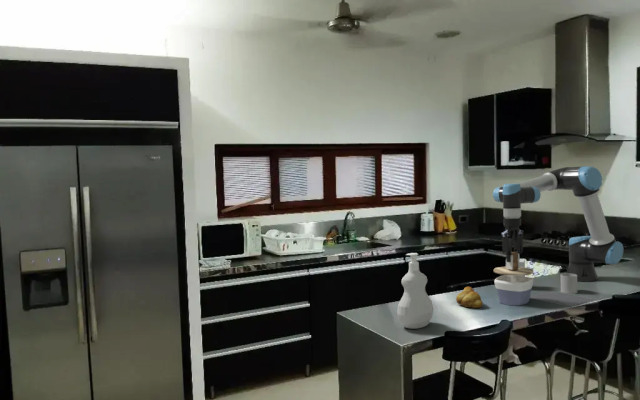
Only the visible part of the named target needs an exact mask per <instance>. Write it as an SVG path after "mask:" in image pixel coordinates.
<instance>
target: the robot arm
mask: <svg viewBox="0 0 640 400" xmlns="http://www.w3.org/2000/svg"><path fill="white" fill-rule="evenodd" d="M602 181H603V176H602V173H601V172H600V170H599V169H598V168H596V167H595V166H588V165H583V166H565V167H560V168H556V169H554V170H551V171H547V172H545V173H543V174H542V175H540V176H537V177H535V178H531V179H527V180H524V181H520V182H516V183H504V184H503V186H497V187H495V188H494V190H493V192H492V198H493V200H494V201H496V202H497V203H502V208H503V219H502V220H503V227H504V231H503V232H500V236H501V247H502V254H503V255H505V256H506V258H505V262H506V261H507V269H513V255H511V253H512V252H517V253H518V268H520V265H519V260H520V259H521V257H520V254H521V255H522V253H523V252H524V232H525V231H524V230H523V229H522V230H521V229H520V226H522V218H521V217H522V204H533V203H537V202H538V201H540V199H541V193H542V192H545V191H550V192H551V191H554V190H555V191H556V190H557V191H558V190H565V191H572V193H573V195H574V197H576V198H578V201H579V204H580V206H581V209H582V213H583V217H584V220H585V222H586V225H587V228H588V229H587V230H588V231H589V234H590V235H581V236H573V237H572V236H571V237H570V238H569V240H568V260H569V263H568V266H567V270H566V272H565V273H570V274H576V275H577V282H595V281H598V273H597V270H596V268H595V265H594V262H595V263H596V262H597V263H602V264H603V263H604V264H606V265H607V264H611V265H614V264H615V265H616V264H618V263H619V262H620V261H621V259H622V258H623V255H624V245H623V243H622V242H620V241H616V238H615V236H614V234H612V233H610V229H609V227H608V223H607V220H606V217H605V214H604V213H605V212H603V207H602V204H601V200H600V197H599V195H598V193H599V191H600V188H601V186H602V184H603V182H602Z"/></svg>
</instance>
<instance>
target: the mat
mask: <svg viewBox="0 0 640 400" xmlns="http://www.w3.org/2000/svg"><path fill="white" fill-rule="evenodd" d="M529 299H531V300H532V299H533V300H538V301H542V302H546V303H551V304H556V305H560V306H565V307H570V308H571V307H574V306H578V305H581V304H584V303H587V302H591V301H593V300H594V299H592V298H587V297H582V296H578V295H577V296H576V295H573V294H571V295H570V294H568V293H562V292H561V293H560V292H556V291H550V290H548V291H543V292H541V293H540V292H539V293H536V294H532V295H530V298H529Z"/></svg>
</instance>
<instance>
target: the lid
mask: <svg viewBox="0 0 640 400" xmlns="http://www.w3.org/2000/svg"><path fill="white" fill-rule="evenodd" d="M511 255H513V269H507V267H506V266H500V267H499V266H498V267H495V268H494V269H493V273H495V274H498V275H502V276H504V275H516V276H518V275H525V276H529V275H532V274H534V269H532V268H530V267H529V268H528V267H526V266H525V267H520V268H518V253H517V252H514V251H512V253H511Z"/></svg>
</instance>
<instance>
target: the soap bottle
mask: <svg viewBox="0 0 640 400" xmlns="http://www.w3.org/2000/svg"><path fill="white" fill-rule="evenodd" d="M405 256H410V262H408V272H407V273H405V275H404V276H403V277H402V279H401V285H402V287H403V289H404V290H403V291H404V292H403V294H402V297H401V298H400V300H399V302H398V304H397V312H396V314H397V317H398V321H399V323H400V324H401V325H402V326H403V327H404V328H406V329H413V330H414V329H415V330H416V329H417V330H418V329H422V328H424V327H426V326H428V325H429V324H430V321H431V320H432V319H433V314H434V306H433V300H432V299H431V298H430V297H429V295H428V293H427V291H426V285H427V283H428V278H427V276H426V275H425V274H424V273H422V272H421V271H420V263H419V261H417V260H418V259H417V256H419V253H417V252H410V253H406V254H405Z"/></svg>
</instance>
